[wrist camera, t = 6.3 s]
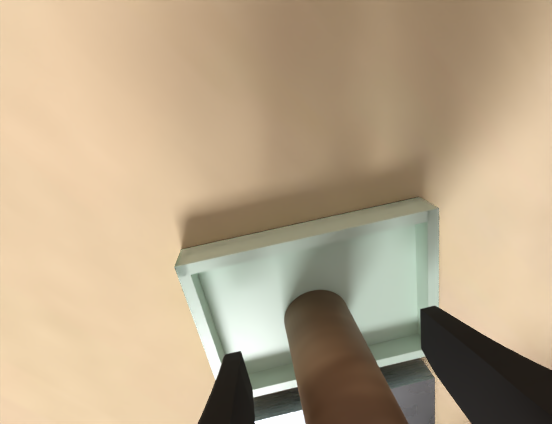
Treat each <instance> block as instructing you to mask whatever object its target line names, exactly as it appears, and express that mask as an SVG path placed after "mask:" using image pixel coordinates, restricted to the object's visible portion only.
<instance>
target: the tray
mask: <svg viewBox="0 0 552 424" xmlns="http://www.w3.org/2000/svg"><path fill="white" fill-rule="evenodd" d="M175 270H176V273H177V275H178V278H179V281H180V284H181V286H182V289H183V292H184V295H185V297H186V300H187V303H188V306H189V308H190V311H191V314H192V317H193V319H194V322H195V325H196V328H197V330H198V333H199V336H200V339H201V341H202V344H203V347H204V350H205V352H206V355H207V358H208V361H209V363H210V366H211V369H212V372H213V375H214V377H215V380H216V378H217V375H218V373H219V370H220V367H221V364H222V360H223V357H224V356H225V354H229V353H233V352H238V351H241V353H242V356H243V359H244V362H245V366H246V369H247V372H248V375H249V379H250V382H251V385H252V389H253V397H257V396H262V395H266V394H270V393H274V392H278V391H283V390H287V389H291V388H295V387H298V386H297V382H296V377H295V372H294V367H293V363H292V358H291V353H290V348H289V344H288V339H287V334H286V329H285V325H284V316H285V312H286V310H287V308H288V306H289V305H290V304H291V302H292V301H293V300H295V299H296V298H297V297H298V296H300V295H302V294H304V293H306V292H309V291H313V290H328V291H331V292H334V293H336V294H338V295H339V296H340V297H342V299H343V300H344V301H345V303H346V305H347V307H348V309H349V310H350V312H351V314H352V316H353V318H354V320H355V322H356V324H357V326H358V328H359V330H360V332H361V333H362V335H363V337H364V339H365V341H366V343H367V345H368V347H369V349H370V351H371V353H372V354H373V356H374V358H375V360H376V362H377V364H378V366H379V367H383V366H387V365H392V364H396V363H400V362H404V361H408V360H413V359H417V358H421V357H425V355H424V353H423V351H422V349H421V325H420V309H422V308H427V307H431V306H437V307H438V308H439V208H438V207H436V206H435V205H433V204H431V203H429V202H428V201H426V200H424V199H422V198H421V197H417V198H412V199H408V200H403V201H399V202H394V203H390V204H385V205H380V206H376V207H371V208H367V209H362V210H358V211H353V212H349V213H344V214H340V215H335V216H331V217H326V218H322V219H317V220H313V221H308V222H304V223H299V224H294V225H290V226H285V227H281V228H276V229H272V230H267V231H263V232H258V233H254V234H249V235H245V236H240V237H236V238H231V239H227V240H222V241H218V242H213V243H209V244H204V245H199V246H195V247H190V248H186V249H181V251H180V254H179V256H178V259H177V262H176V264H175Z"/></svg>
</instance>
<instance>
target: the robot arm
mask: <svg viewBox="0 0 552 424" xmlns="http://www.w3.org/2000/svg"><path fill="white" fill-rule="evenodd" d="M420 325H421V349H422V351H423V353H424V355H425V356H426V358H427V360H428V362H429V363H430V365H431V367H432V369H433V370H434V372H435V374H436V375H437V377H438V378H439V379H440V381H441V382H442V384H443V385H444V386H445V388H446V389H447V391H448V392H449V393H450V395H451V396H452V397H453V399H454V400H455V402H456V403H457V404H458V406H459V407H460V408H461V410H462V411H463V413H464V414H465V415H466V417H467V418H468V419H469V421H470V422H471V423H472V424H552V370H550V369H548V368H546V367H544V366H541V365H539V364H537V363H535V362H533V361H531V360H529V359H527V358H525V357H523V356H521V355H519V354H518V353H516V352H514V351H512V350H510V349H508V348H506V347H504V346H502V345H501V344H499V343H497V342H495V341H493V340H492V339H490V338H488V337H486V336H485V335H483V334H481V333H480V332H478V331H476V330H475V329H473V328H471V327H470V326H468V325H466V324H465V323H463V322H461V321H460V320H458V319H456V318H455V317H453V316H452V315H450V314H448V313H447V312H445V311H443V310H442V309H440V308H438V307H437V306H431V307H427V308H422V309H420ZM198 424H255V411H254V400H253V389H252V385H251V382H250V379H249V375H248V372H247V369H246V366H245V362H244V359H243V356H242V353H241V351H238V352H233V353H229V354H225V356H224V357H223V360H222V364H221V367H220V370H219V373H218V375H217V378H216V381H215V384H214V386H213V389H212V392H211V394H210V396H209V399H208V401H207V404H206V406H205V409H204V411H203V413H202V415H201V418H200V420H199V422H198Z"/></svg>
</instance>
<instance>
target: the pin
mask: <svg viewBox="0 0 552 424" xmlns="http://www.w3.org/2000/svg"><path fill="white" fill-rule="evenodd" d="M284 325H285V329H286V334H287V339H288V344H289V348H290V353H291V358H292V363H293V367H294V372H295V377H296V382H297V386H298V391H299V396H300V401H301V405H302V410H303V415H304V419H305V424H409V423H408V421H407V420H406V418H405V416H404V414H403V412H402V410H401V408H400V406H399V404H398V402H397V400H396V398H395V397H394V395H393V393H392V391H391V389H390V387H389V385H388V383H387V381H386V379H385V377H384V376H383V374H382V372H381V370H380V368H379V366H378V364H377V362H376V360H375V358H374V356H373V354H372V353H371V351H370V349H369V347H368V345H367V343H366V341H365V339H364V337H363V335H362V333H361V332H360V330H359V328H358V326H357V324H356V322H355V320H354V318H353V316H352V314H351V312H350V310H349V309H348V307H347V305H346V303H345V301H344V300H343V299H342V297H340V296H339V295H338V294H336V293H334V292H331V291H328V290H313V291H309V292H306V293H304V294H302V295H300V296H298V297H297V298H296V299H295V300H293V301H292V302H291V304H290V305H289V306H288V308H287V310H286V312H285V316H284Z"/></svg>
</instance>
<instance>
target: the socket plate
mask: <svg viewBox="0 0 552 424" xmlns="http://www.w3.org/2000/svg"><path fill="white" fill-rule="evenodd" d="M379 368H380V370H381V372H382V374H383V376H384V377H385V379H386V381H387V383H388V385H389V387H390V389H391V391H392V393H393V395H394V397H395V398H396V400H397V402H398V404H399V406H400V408H401V410H402V412H403V414H404V416H405V418H406V420H407V421H408V423H409V424H435V378H434V377H433V375H432V374H431V372H430V371H429V369H428V368H427V366H426V365H425V363H424V362H423V361H422V359H421V358H417V359H413V360H408V361H404V362H400V363H396V364H392V365H387V366H383V367H379ZM253 400H254V411H255V424H305V419H304V415H303V410H302V405H301V401H300V396H299V391H298V387H295V388H291V389H287V390H283V391H278V392H274V393H270V394H266V395H262V396H257V397H253Z"/></svg>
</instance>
